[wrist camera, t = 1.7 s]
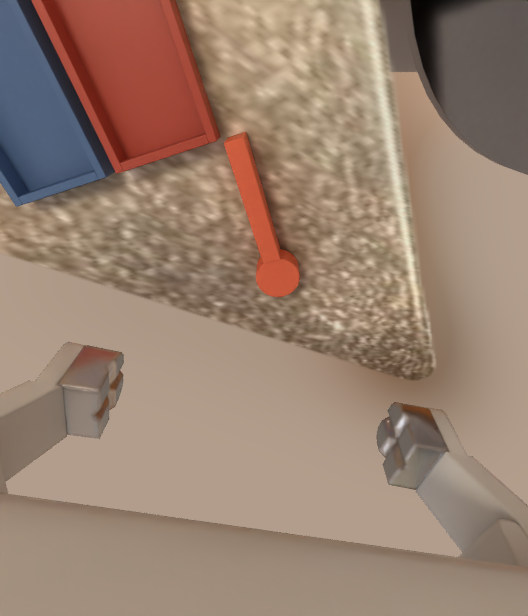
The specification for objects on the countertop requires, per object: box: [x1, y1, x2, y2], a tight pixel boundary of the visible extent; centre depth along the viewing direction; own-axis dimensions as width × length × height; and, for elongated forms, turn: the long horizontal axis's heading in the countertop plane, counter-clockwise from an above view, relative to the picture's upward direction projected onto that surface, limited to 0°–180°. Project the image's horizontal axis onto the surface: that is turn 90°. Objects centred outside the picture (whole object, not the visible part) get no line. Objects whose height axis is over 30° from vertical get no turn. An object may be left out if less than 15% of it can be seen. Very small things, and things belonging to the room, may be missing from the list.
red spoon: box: [224, 132, 300, 297], centre depth 29 cm, size 13×4×2 cm, turn 17°
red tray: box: [31, 0, 220, 174], centre depth 22 cm, size 8×16×2 cm, turn 17°
